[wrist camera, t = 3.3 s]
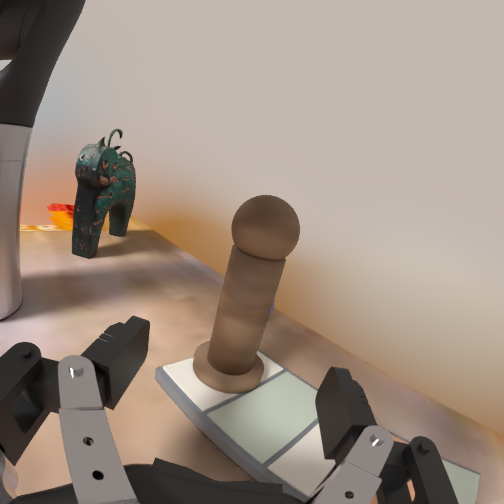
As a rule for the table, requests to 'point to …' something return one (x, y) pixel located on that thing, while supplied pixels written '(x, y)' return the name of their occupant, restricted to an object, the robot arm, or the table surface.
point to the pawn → (247, 294)
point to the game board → (274, 428)
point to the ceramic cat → (101, 195)
